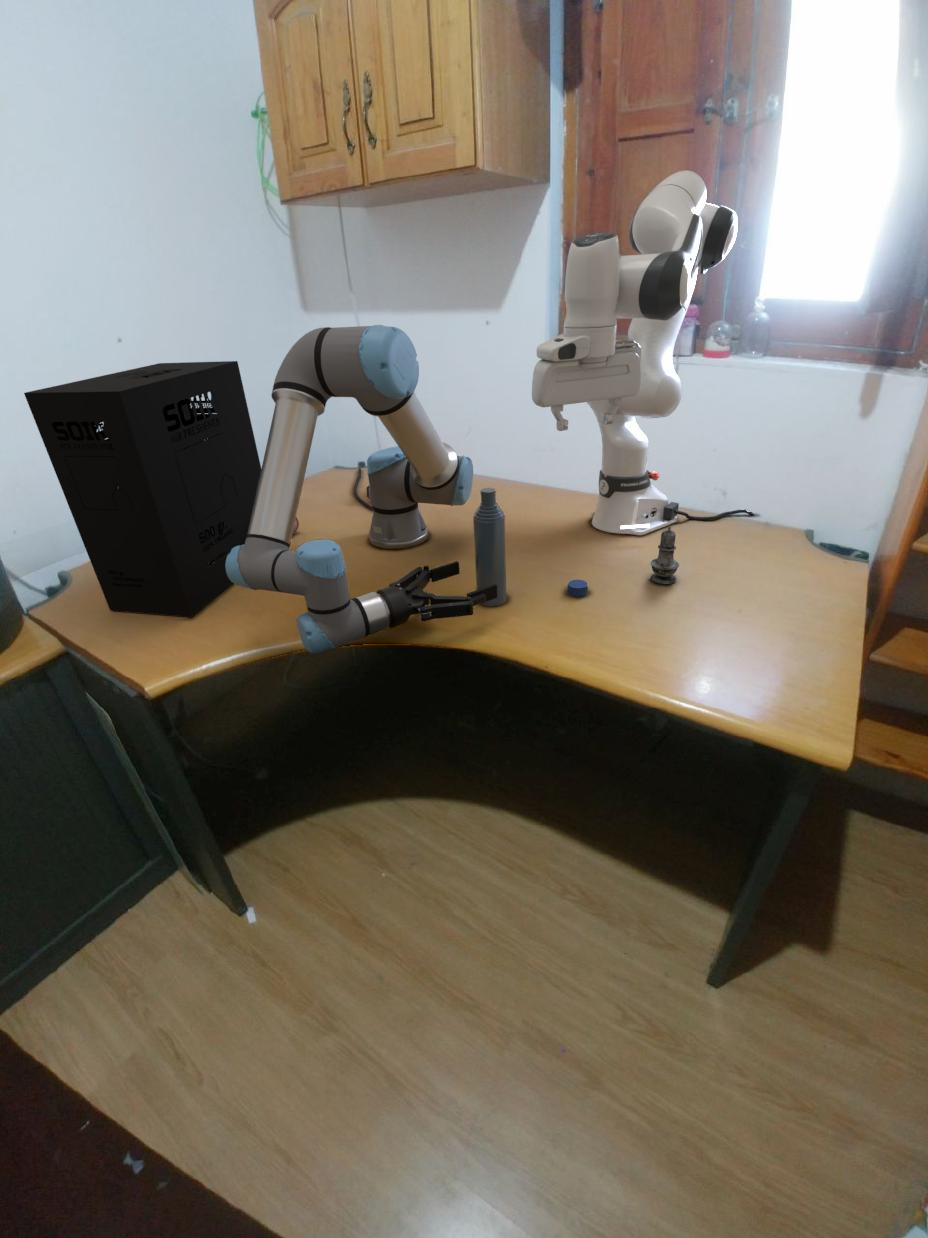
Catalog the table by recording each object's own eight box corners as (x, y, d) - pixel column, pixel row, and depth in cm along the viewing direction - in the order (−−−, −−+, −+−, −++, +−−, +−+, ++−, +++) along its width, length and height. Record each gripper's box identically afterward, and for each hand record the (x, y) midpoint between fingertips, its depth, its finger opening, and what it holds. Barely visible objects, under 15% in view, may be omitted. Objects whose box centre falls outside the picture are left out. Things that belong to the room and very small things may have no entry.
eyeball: (273, 537, 164) (268, 516, 161) (287, 528, 169) (282, 508, 166) (291, 539, 161) (286, 518, 158) (305, 530, 166) (301, 510, 163)
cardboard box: (191, 617, 126) (119, 391, 104) (110, 610, 131) (23, 392, 108) (278, 546, 158) (237, 360, 135) (210, 542, 162) (159, 363, 140)
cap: (569, 587, 130) (569, 578, 129) (588, 589, 128) (589, 580, 127) (565, 595, 126) (566, 587, 125) (585, 598, 125) (586, 589, 124)
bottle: (497, 590, 130) (494, 482, 118) (512, 601, 125) (510, 491, 114) (471, 597, 128) (466, 488, 116) (485, 609, 123) (481, 497, 111)
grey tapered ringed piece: (678, 585, 127) (686, 532, 121) (649, 584, 129) (655, 531, 123) (675, 573, 132) (683, 521, 126) (648, 572, 134) (653, 520, 128)
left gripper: (357, 602, 123) (445, 574, 133) (416, 656, 105) (513, 619, 114) (352, 569, 120) (443, 542, 129) (412, 619, 101) (513, 583, 111)
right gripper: (631, 337, 109) (625, 416, 116) (527, 347, 103) (527, 430, 110) (652, 340, 103) (644, 423, 110) (543, 351, 98) (542, 437, 105)
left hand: (476, 578), depth 122 cm, fingers open, 13 cm apart
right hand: (585, 426), depth 110 cm, fingers open, 8 cm apart
